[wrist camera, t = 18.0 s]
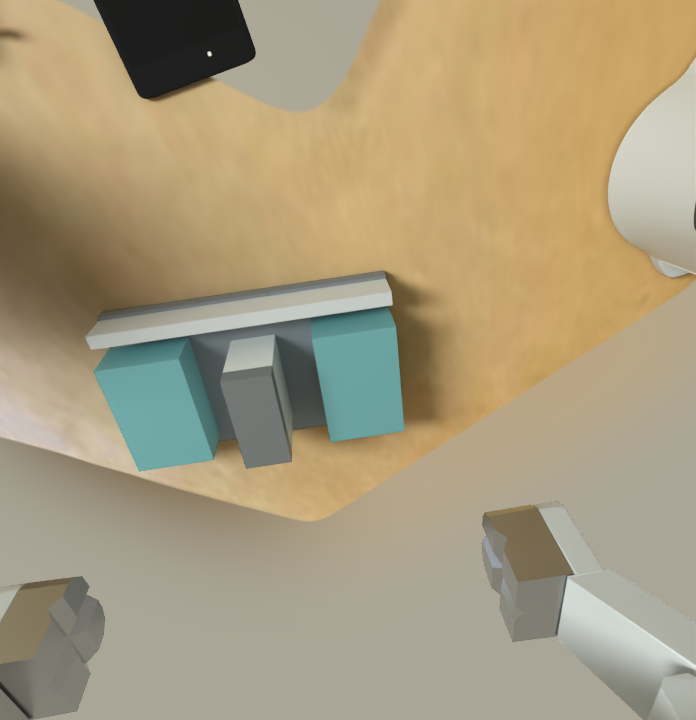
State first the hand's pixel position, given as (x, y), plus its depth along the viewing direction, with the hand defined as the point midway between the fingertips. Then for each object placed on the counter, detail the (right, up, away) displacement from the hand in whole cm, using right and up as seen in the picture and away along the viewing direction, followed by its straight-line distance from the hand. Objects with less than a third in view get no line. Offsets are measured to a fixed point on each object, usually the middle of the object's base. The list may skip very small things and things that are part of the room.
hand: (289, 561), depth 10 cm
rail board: (-7, +4, +37) cm, 37 cm away
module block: (-7, +2, +36) cm, 37 cm away
